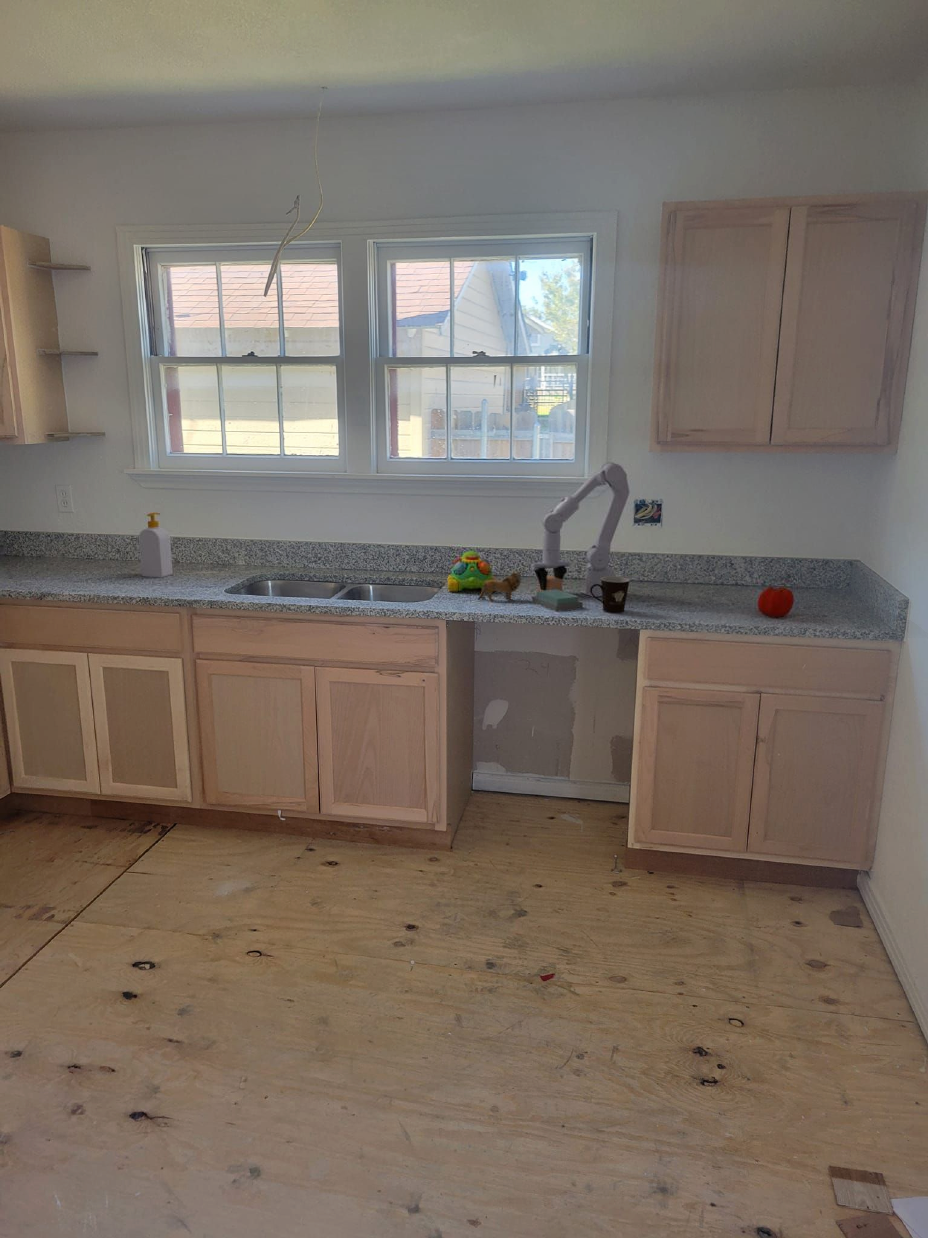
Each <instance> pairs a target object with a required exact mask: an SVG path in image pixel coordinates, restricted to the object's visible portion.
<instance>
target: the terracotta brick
mask: <svg viewBox="0 0 928 1238" xmlns="http://www.w3.org/2000/svg"><path fill="white" fill-rule="evenodd" d="M537 580H538V579H537ZM537 586H538V587H537V591H546V590H555V589H558V590H561V591H563V579H559V578H556V577H554V575H553V576H552V575H549V574H548V575H547V579H546V590H541V589H540V584H539V580H538V582H537Z"/></svg>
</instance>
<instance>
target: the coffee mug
mask: <svg viewBox="0 0 928 1238" xmlns="http://www.w3.org/2000/svg"><path fill="white" fill-rule="evenodd" d="M601 584H602V585H600V584H594V585H593V586H591V589H590V593H591V594H592V596H593V597H592V596H591V597H592V598H595V600H597V601H599V602H601V603H602V610H603V612H604V613H608V614H622V612H623V613H624V612H625V607H626V601H627V598H628V597H627V596H628V592H629V586H630V579H629V578H627V577H622V576H621V577H620V576H615V577H604V578H601ZM595 586H599V587H600V588H601V590H602V596H601V598H602V599H600V598H599V597H598V596H597V597H596V596H595V595H594V594H593V593H592V589H593V587H595Z"/></svg>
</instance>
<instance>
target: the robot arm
mask: <svg viewBox="0 0 928 1238" xmlns="http://www.w3.org/2000/svg"><path fill="white" fill-rule="evenodd" d="M627 476H628V474H627V472H626V471H625V469H624V468H623V466H621V465H620V464H618V463H615V462H612V461H608V462H605V463H604V464H602V466H601V467H599V468H598V469H596V470H595V471H594V473H592V475H590V476H589V477H588V479H587V480H586V481H585V482H583V484H582V485H581V486H580V487H579V488H578V489H577V491H575V493H574V494H572V495H568V496H567V495H566V496H565V497H561V498H560V502H559V503H558V504H557V505H556V506H555V507H554V508H551V509H550V511H549V512H550V513H547V514H546V515H544V516H543V519H542V525H543V527H544V529H543V537H542V538H543V539H542V561H539V562H535V563H531V564H530V570H532V571H534V573H535V575H536V577H537V580H539V584H540V589H541V590H546V579H547V576H548V575H549V574H548V573H549V571H548V570H546V569H553V577H556V578H559V579H562V580H563V579H564V577H565V575H566V573H567V572H568V568H569V567H571V561H570V560H560V558H561V555H560V554H561V529H562V527H563V525H564V523H566V522H567V521H568V520H569V519H570V518H571V517H572V516H573V515H574V514H575V513H576V512H577V511H578V510H579V508H580V503H581V502H582V501H583V500H584V499H585V498H586V497H587V496H589V494H591V493H592V492H593V491H594V490H595V489H596V488H597V487H601V486H606V485H607V484H608V486H609V488H610V489H611V491H612V495H611V499H610V501H609V504H608V506H607V509H606V512H605V515H604V518H603V520H602V523H601V526H600V528H599V531H598V533H597V536H596V539H595V540H594V541H593V543H592V546H591V547H590V548H589V549H588V550H587V552H586V555H585V556H586V560H587V562H588V563H587V565H586V569H585V586H584V587H585V590H580V591H579V593H581V594H584V595H587V596H589V597H592V598H594V597H593V596H592V594H591V593H590V589H591V586H593V585H594V584H600V585H602V584H601V578H604V577H616V574H615V571H614V569H613V568H612V567H609V566H608V565H609V563H610V552H611V545H612V544H611V543H612V541H613V538H614V536H615V533H616V530H617V527H618V525H619V522H620V520H621V516H622V514H623V511H624V509H625V506H626V505H627V502H628V501H627V500H628V497H629V495H630V488H629V482H628V477H627ZM592 593H593V594H594V595H595V596H596V597H597V598H598V597H602V590H601V588H600V587H599V586H595V587H593V589H592Z"/></svg>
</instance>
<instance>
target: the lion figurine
mask: <svg viewBox="0 0 928 1238" xmlns="http://www.w3.org/2000/svg"><path fill="white" fill-rule="evenodd" d="M521 582H522V578H521V573H519V572H515V571H514V572H511V573H510V574H509V576H507V577H505V578H504V579H503V580H500V581H499V580H495V581H494V580H488V581H486V582H485V583H484V585H483V587H482V589H481V592H480V595H479V597H478V598H477V600H486V597H484V596H485V595H486V594H487V593H488V595H487V597H488V599H489V600H490V602H495V598H492V594H493V593H494V592H497V593H504V599H505V600H508V601H509V602H513V599H512V595H513V593H512V592H516V590H517V589H518V588H519V587H520V585H521ZM484 588H485V589H484ZM493 590H495V591H494V592H493Z"/></svg>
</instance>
